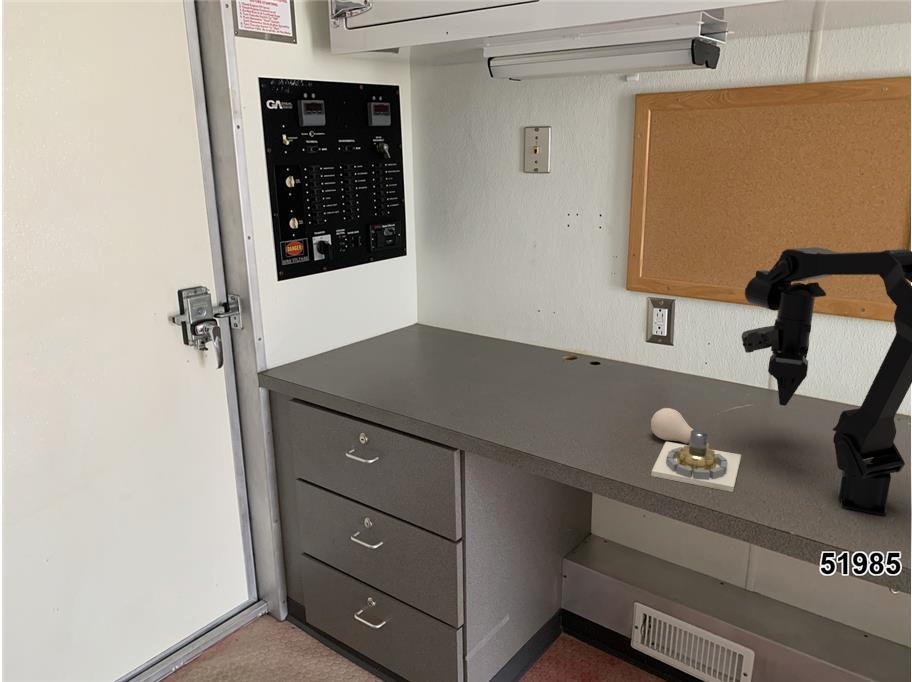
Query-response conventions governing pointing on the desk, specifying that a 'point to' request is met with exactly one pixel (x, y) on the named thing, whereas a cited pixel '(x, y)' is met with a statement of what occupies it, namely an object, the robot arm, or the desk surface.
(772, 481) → the desk surface
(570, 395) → the desk surface
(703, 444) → the planet gear
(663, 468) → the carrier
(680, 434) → the light bulb
